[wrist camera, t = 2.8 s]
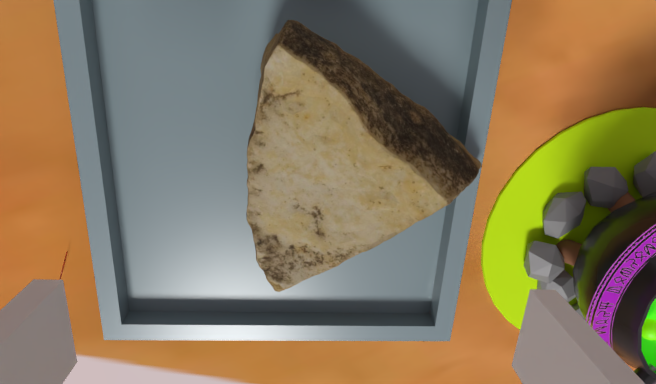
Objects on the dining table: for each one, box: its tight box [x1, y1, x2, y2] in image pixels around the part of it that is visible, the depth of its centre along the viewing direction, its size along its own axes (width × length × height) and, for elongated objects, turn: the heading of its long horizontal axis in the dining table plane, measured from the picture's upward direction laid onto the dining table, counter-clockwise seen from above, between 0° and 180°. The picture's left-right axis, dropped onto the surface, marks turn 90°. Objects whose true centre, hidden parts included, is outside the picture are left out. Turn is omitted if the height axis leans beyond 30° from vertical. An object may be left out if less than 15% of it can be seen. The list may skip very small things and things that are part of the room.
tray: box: [54, 0, 512, 341], centre depth 22 cm, size 19×19×2 cm
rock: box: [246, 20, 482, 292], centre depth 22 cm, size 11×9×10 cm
